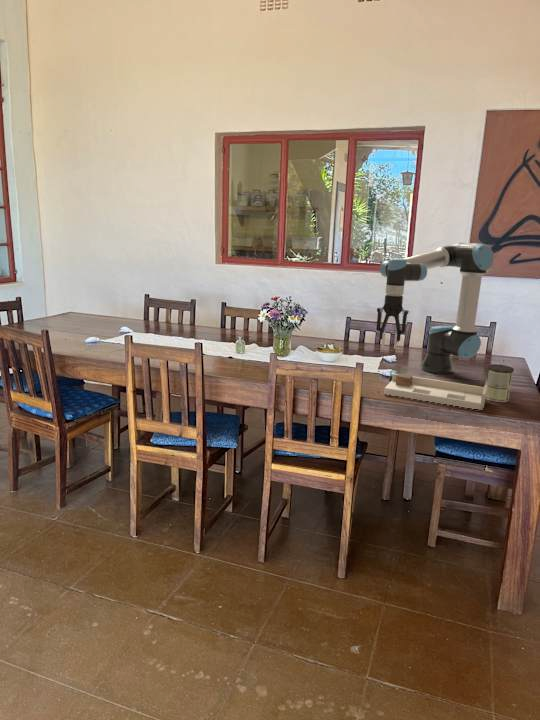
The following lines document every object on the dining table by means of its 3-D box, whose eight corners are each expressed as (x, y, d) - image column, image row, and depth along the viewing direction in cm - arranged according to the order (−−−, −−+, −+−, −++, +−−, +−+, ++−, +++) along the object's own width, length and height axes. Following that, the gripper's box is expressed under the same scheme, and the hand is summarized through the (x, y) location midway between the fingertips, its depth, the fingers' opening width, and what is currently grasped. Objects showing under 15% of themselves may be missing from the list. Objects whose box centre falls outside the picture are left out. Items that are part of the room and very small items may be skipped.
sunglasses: (392, 377, 254) (394, 367, 253) (422, 385, 248) (425, 375, 247) (384, 384, 242) (386, 374, 241) (416, 393, 236) (418, 382, 235)
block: (397, 381, 235) (398, 373, 234) (411, 384, 233) (412, 375, 232) (395, 384, 231) (396, 375, 230) (409, 386, 228) (410, 378, 227)
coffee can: (479, 394, 232) (483, 363, 228) (502, 395, 232) (506, 364, 229) (489, 402, 222) (494, 370, 218) (513, 402, 222) (518, 370, 219)
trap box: (391, 386, 239) (393, 371, 237) (485, 401, 223) (487, 385, 221) (384, 394, 226) (385, 379, 224) (482, 411, 210) (485, 394, 208)
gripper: (371, 293, 226) (366, 346, 232) (413, 297, 219) (407, 351, 224) (375, 292, 233) (371, 343, 238) (416, 295, 225) (411, 348, 231)
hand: (389, 347), depth 231 cm, fingers open, 5 cm apart
